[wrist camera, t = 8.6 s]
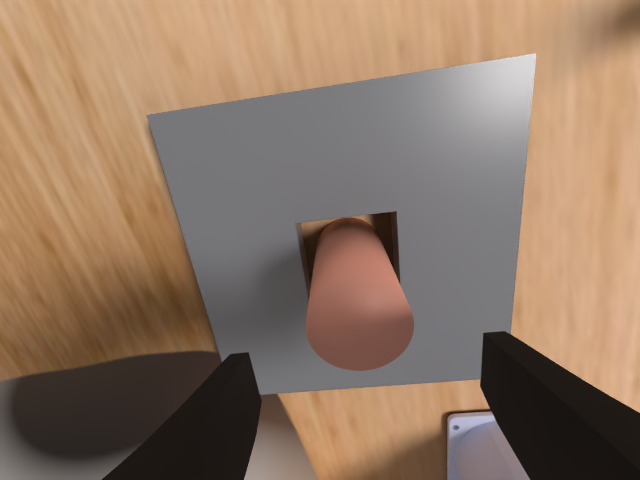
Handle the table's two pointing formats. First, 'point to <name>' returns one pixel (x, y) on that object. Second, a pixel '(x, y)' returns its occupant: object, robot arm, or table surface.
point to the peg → (356, 300)
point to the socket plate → (357, 211)
